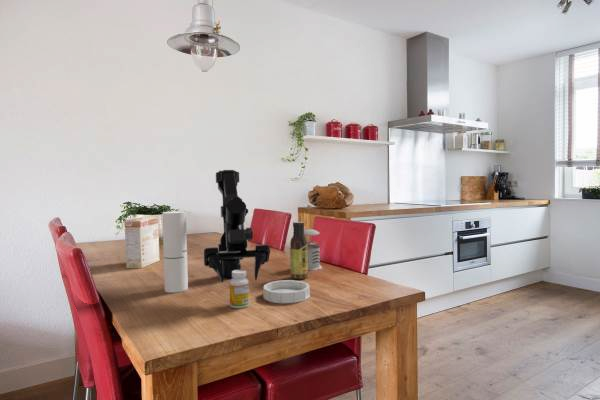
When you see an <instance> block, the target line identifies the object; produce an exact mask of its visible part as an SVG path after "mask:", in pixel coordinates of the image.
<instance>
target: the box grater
mask: <svg viewBox="0 0 600 400" xmlns="http://www.w3.org/2000/svg"><path fill="white" fill-rule="evenodd" d="M306 207H307V209H308V212H309V213H308V215H309V218H308V219H309V220H308V221H309V227H308V229H304V236H305V239H306V241H307V240H308V239H307V237H309V241H307V244H308V271H318V269H319V270H322V269H323V266H322V265H321V263H320V262H321V261H320V258H321V257H320V255H321V254H320V246H318V245H319V244H320V243H319V242H317V241H311V236H319V235H320V234H321V233H320V232H319V231H318V230H315V229H312V228H311V212H310V211H311V209H312V205H311V204H308V205H307V206H306Z"/></svg>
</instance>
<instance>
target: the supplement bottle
mask: <svg viewBox="0 0 600 400" xmlns="http://www.w3.org/2000/svg"><path fill="white" fill-rule="evenodd" d="M232 277H233V278H230V279H229V306H230V307H231V308H233V309H243V308H246V307H249V305H250V280H249V278H247V270H245V269H241V270H234V271H232Z"/></svg>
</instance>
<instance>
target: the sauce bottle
mask: <svg viewBox="0 0 600 400" xmlns="http://www.w3.org/2000/svg"><path fill="white" fill-rule="evenodd" d="M292 227H293V228H292V229H293V236H292V237H291V239H290V243H289V245H290V248H289V255H290V256H289V265H290V266H289V268H290V269H289V270H290V278H291V279H292V280H303V279H307V278H308V272H309V270H308V244H307V242H308V241H306V239H307V238H306V236H304V230H305V222H304V221H293V222H292ZM305 238H306V239H305Z"/></svg>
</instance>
